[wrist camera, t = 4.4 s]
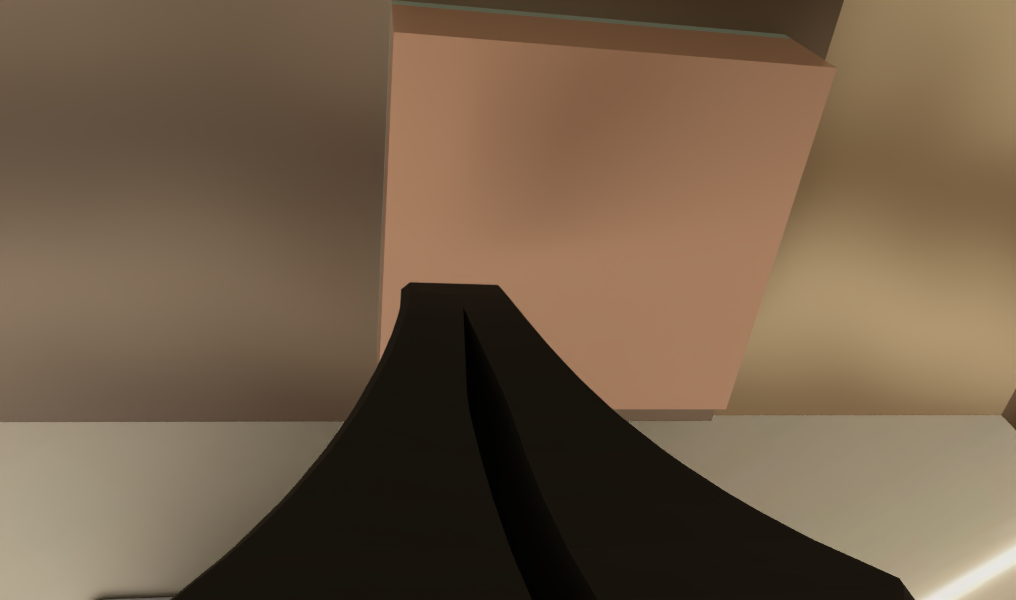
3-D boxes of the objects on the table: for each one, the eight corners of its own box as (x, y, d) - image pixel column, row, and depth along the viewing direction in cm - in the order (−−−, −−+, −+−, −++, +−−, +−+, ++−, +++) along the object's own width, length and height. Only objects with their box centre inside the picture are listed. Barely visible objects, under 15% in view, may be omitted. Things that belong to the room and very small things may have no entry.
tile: (376, 347, 17) (693, 351, 19) (377, 409, 16) (726, 409, 17) (391, -1, 14) (784, 34, 15) (394, 31, 12) (836, 67, 13)
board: (1010, 390, 22) (1067, 446, 21) (-110, 384, 18) (-166, 457, 16) (1246, -43, 17) (1355, -20, 15) (-321, -228, 12) (-448, -228, 10)
